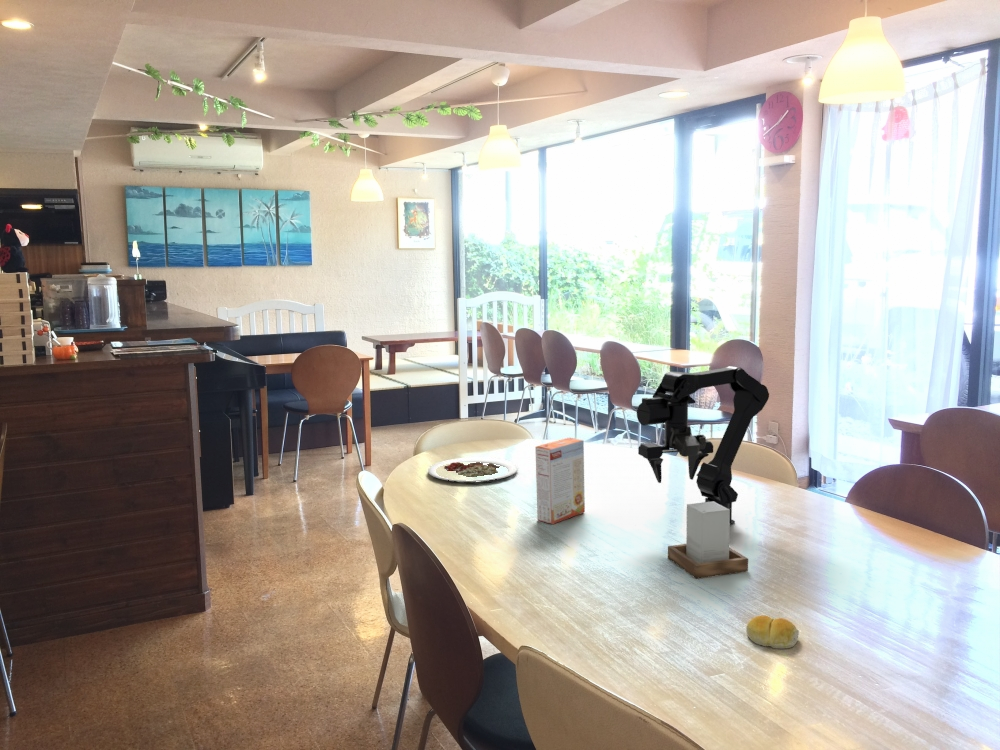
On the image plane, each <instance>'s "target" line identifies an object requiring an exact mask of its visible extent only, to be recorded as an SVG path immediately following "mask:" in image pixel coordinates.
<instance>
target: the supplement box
mask: <svg viewBox="0 0 1000 750" xmlns="http://www.w3.org/2000/svg"><path fill="white" fill-rule="evenodd" d="M730 525H731V524H730V510H729V509H727V508H725V507H724V506H722V505H720V504H718V503H716V502H714V501H712V502H705V501H703V502H695V503H687V504H686V542H685V544H686V556H688V557H689V558H691V559H692V560H694V561H695V562H697V563H698V564H700V563H707V562H714V561H721V560H728V559H729V547H730V527H731V526H730Z"/></svg>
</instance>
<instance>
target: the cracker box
mask: <svg viewBox="0 0 1000 750" xmlns="http://www.w3.org/2000/svg"><path fill="white" fill-rule="evenodd" d="M584 446H585V445H584V440H583V439H577V438H574V437H567V438H562V439H558V440H555V441H552V442H547V443H544V444H540V445H537V446H535V474H536V476H535V478H536V483H535V484H536V509H537V510H536V511H537V521H539V522H543V523H546V524H550V525H555V524H557V523H561V522H562V521H565V520H567V519H571V518H573V517H576V516H579V515H581V514H583V513H586V512H585V511H586V510H585V508H586V507H585V504H586V503H585V458H584V457H585V456H584V455H585V454H584V453H585V452H584V451H585V449H584Z"/></svg>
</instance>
